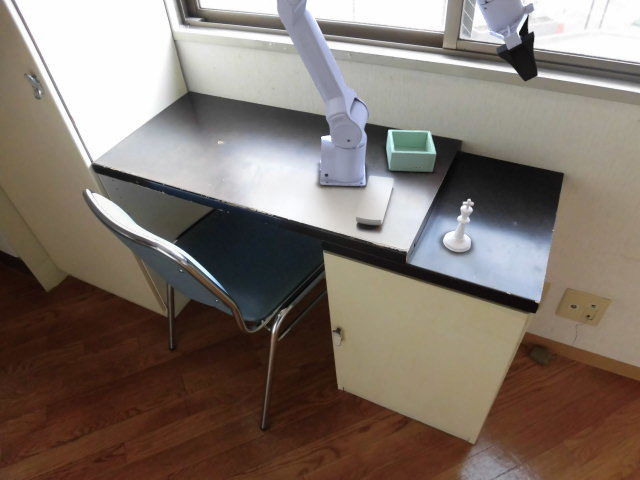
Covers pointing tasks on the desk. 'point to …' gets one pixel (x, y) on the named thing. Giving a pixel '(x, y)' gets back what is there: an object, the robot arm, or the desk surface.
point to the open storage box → (410, 150)
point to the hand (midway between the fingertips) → (529, 68)
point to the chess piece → (460, 231)
